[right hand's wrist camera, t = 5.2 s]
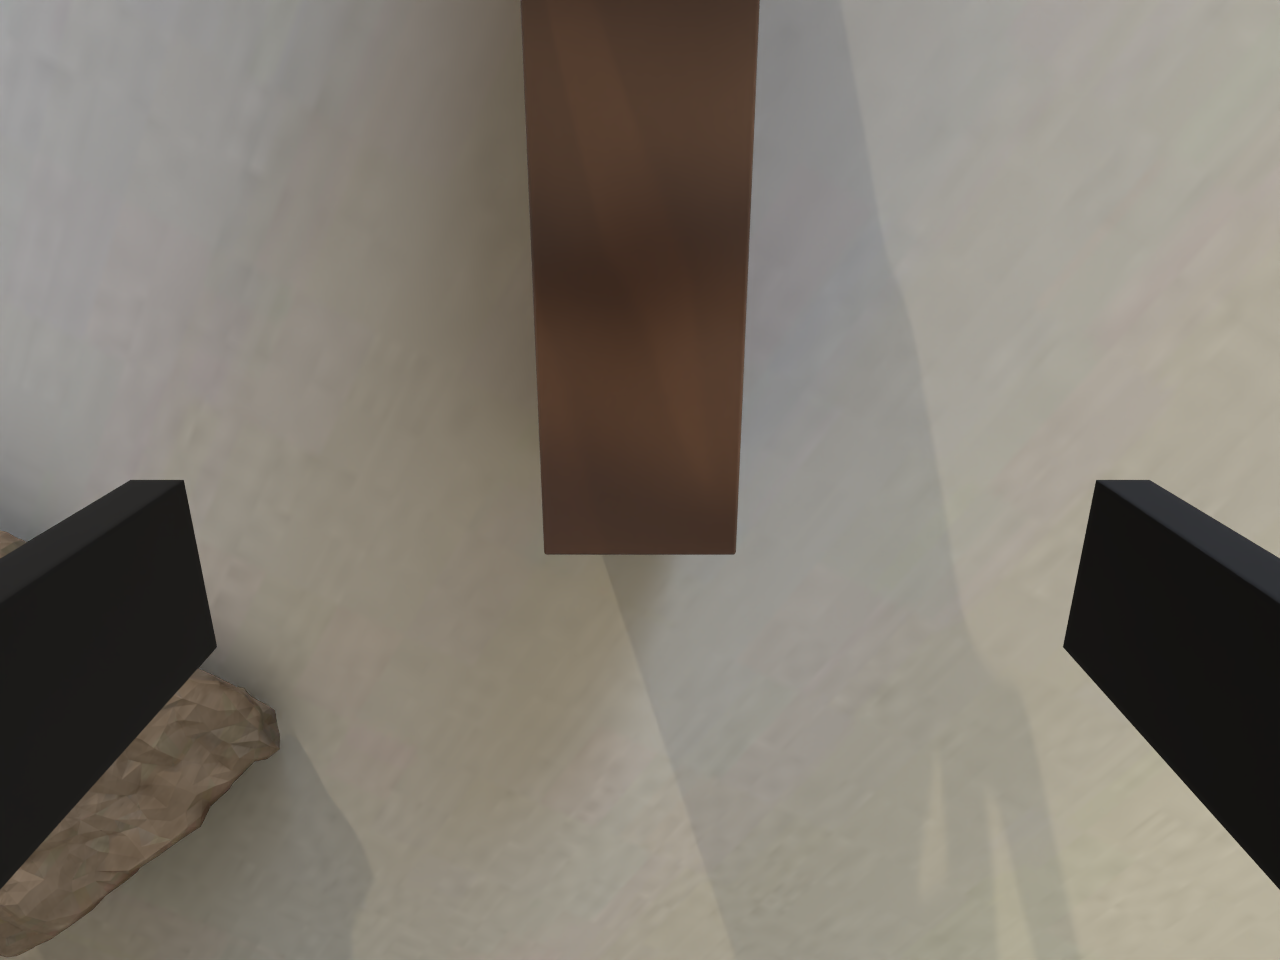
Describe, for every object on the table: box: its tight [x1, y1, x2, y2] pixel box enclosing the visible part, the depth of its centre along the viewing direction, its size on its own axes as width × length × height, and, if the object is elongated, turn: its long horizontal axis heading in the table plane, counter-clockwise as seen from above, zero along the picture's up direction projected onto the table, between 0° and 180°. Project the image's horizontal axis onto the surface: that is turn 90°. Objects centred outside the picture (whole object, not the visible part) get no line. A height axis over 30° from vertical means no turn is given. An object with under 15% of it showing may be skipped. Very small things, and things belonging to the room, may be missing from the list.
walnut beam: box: [521, 0, 760, 554], centre depth 21 cm, size 26×5×8 cm, turn 0°
